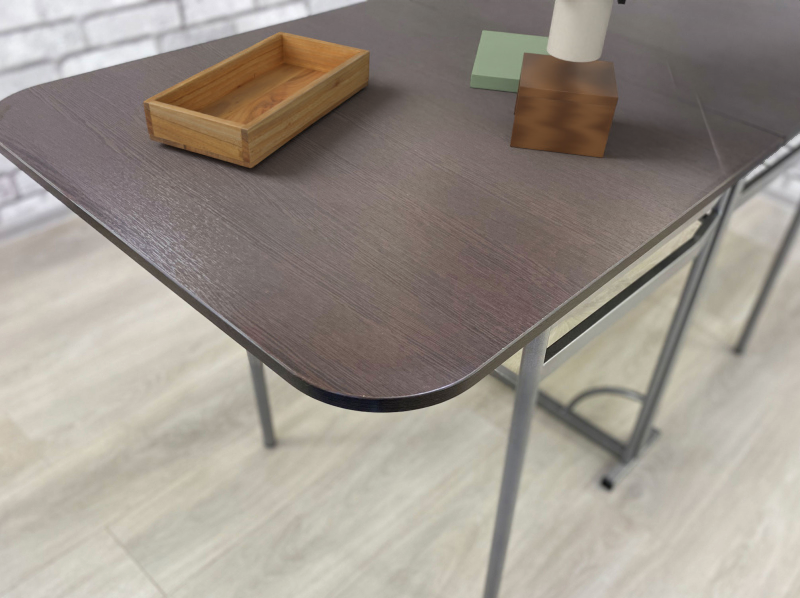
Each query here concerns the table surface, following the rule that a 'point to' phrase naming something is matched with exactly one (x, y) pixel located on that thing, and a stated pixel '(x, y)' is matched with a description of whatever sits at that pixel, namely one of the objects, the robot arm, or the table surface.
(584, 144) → the wood grain cuboid
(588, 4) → the cylinder
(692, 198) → the table surface
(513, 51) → the sage green flat slab
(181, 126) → the tray
